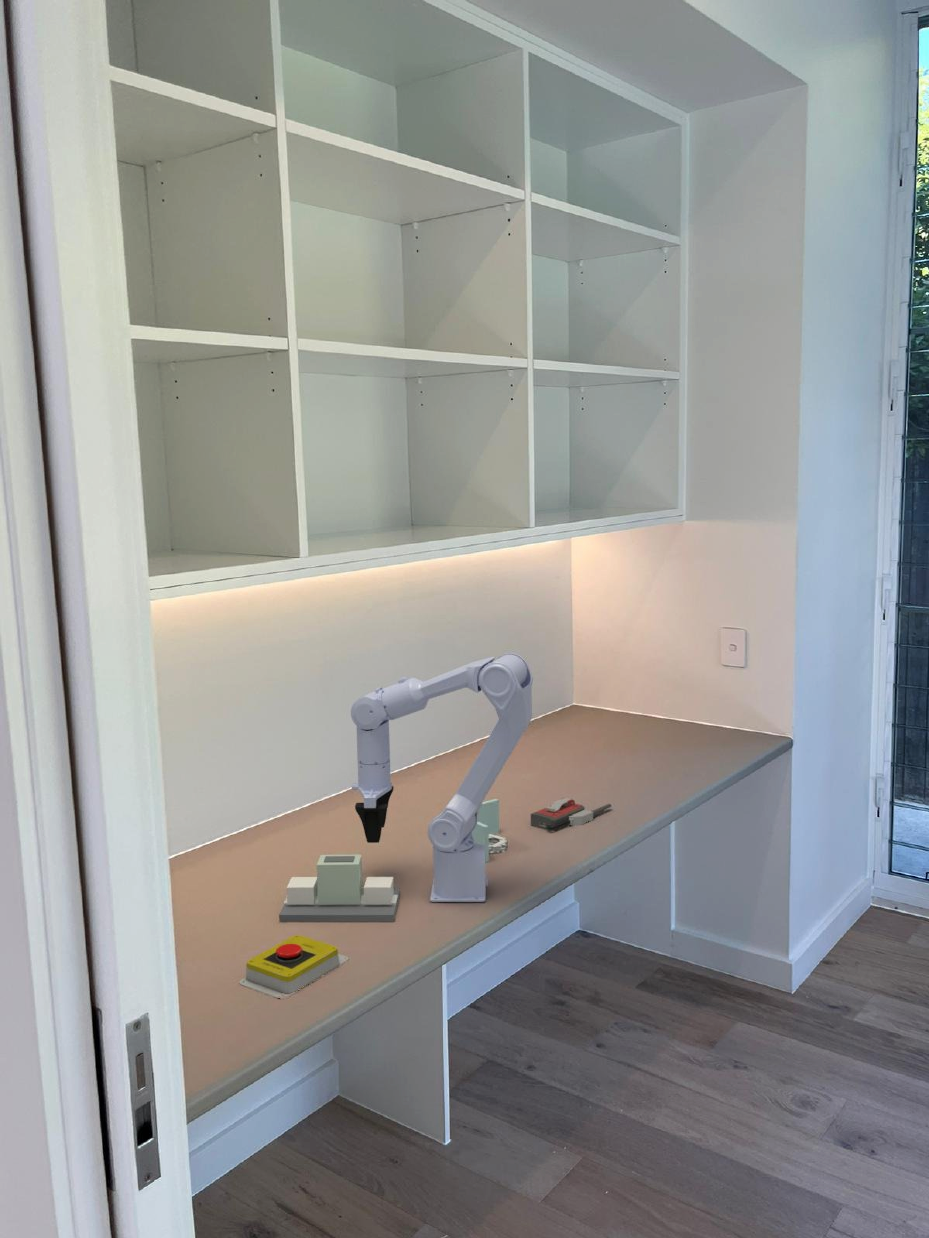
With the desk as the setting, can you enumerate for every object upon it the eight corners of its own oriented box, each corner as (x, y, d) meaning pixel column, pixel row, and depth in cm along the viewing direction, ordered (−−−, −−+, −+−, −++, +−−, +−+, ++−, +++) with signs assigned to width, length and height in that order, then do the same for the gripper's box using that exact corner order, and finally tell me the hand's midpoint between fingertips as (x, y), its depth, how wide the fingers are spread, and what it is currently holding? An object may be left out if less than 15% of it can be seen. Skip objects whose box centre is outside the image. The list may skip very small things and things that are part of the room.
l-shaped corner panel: (485, 865, 200) (484, 827, 199) (448, 847, 209) (447, 810, 208) (534, 850, 207) (533, 813, 206) (496, 834, 216) (495, 798, 215)
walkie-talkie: (558, 837, 213) (614, 812, 228) (558, 816, 212) (614, 792, 227) (524, 828, 219) (581, 804, 234) (524, 807, 218) (581, 784, 233)
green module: (362, 893, 182) (361, 853, 181) (359, 904, 178) (358, 863, 177) (322, 893, 182) (320, 854, 181) (318, 904, 178) (316, 863, 177)
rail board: (400, 894, 185) (399, 869, 185) (393, 921, 174) (393, 895, 174) (292, 894, 186) (291, 869, 185) (279, 921, 175) (278, 895, 174)
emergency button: (234, 958, 154) (305, 920, 166) (236, 986, 155) (306, 947, 167) (281, 974, 149) (350, 934, 161) (282, 1003, 150) (351, 961, 162)
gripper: (356, 749, 194) (358, 820, 196) (345, 772, 179) (347, 849, 181) (395, 749, 194) (396, 820, 196) (386, 772, 179) (388, 848, 181)
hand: (375, 834), depth 189 cm, fingers open, 7 cm apart
